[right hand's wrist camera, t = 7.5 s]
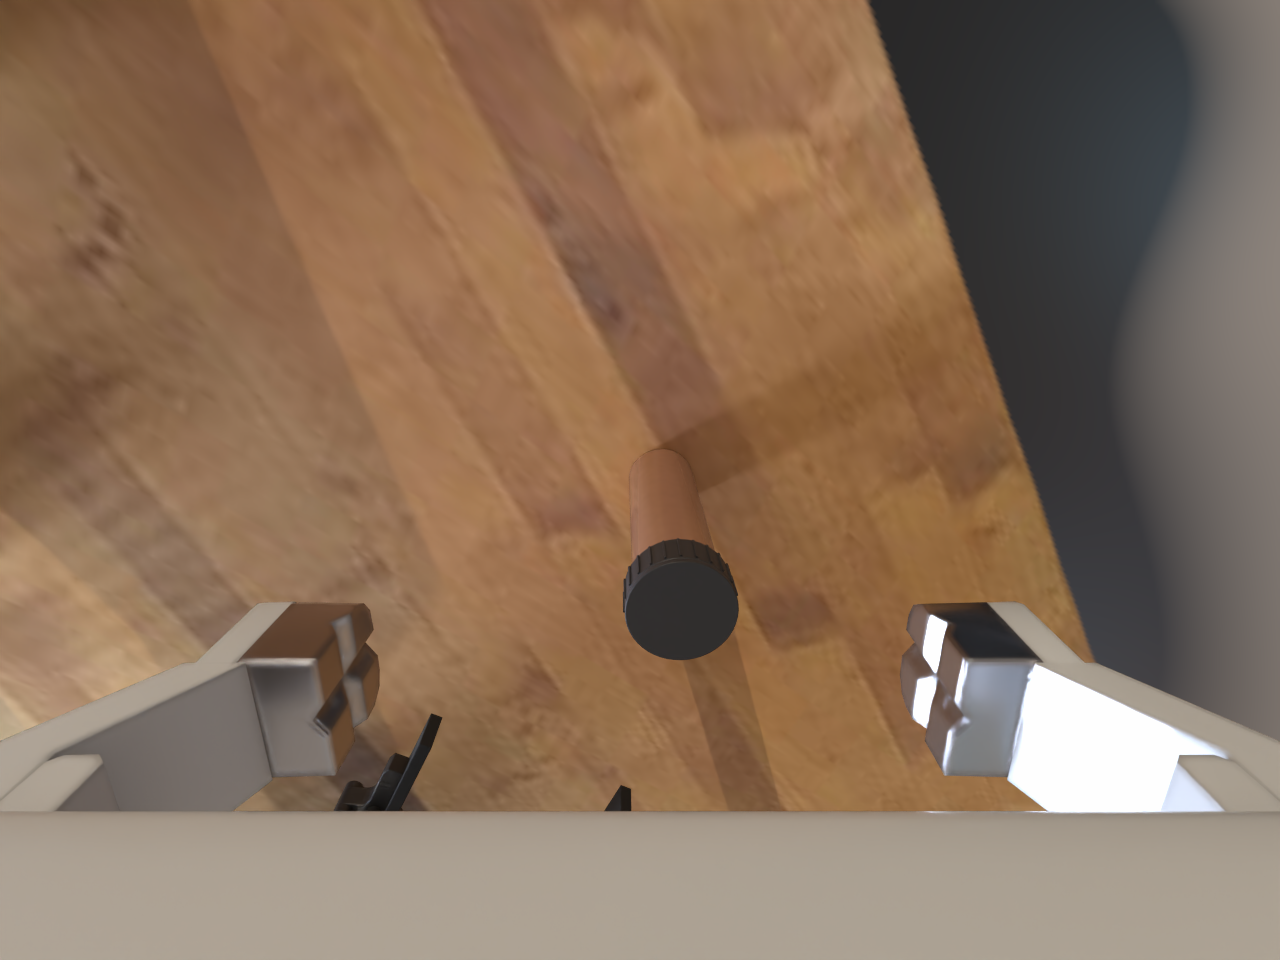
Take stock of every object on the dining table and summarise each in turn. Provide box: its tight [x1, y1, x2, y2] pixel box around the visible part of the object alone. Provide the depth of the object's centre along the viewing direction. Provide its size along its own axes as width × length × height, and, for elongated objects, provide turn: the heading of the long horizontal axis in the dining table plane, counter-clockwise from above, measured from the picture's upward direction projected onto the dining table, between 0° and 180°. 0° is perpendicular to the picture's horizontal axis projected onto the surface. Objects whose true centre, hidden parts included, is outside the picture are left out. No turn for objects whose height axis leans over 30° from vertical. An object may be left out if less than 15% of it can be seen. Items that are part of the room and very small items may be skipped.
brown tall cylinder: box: [629, 449, 715, 563], centre depth 37 cm, size 4×4×16 cm
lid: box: [623, 538, 739, 660], centre depth 30 cm, size 5×5×2 cm
